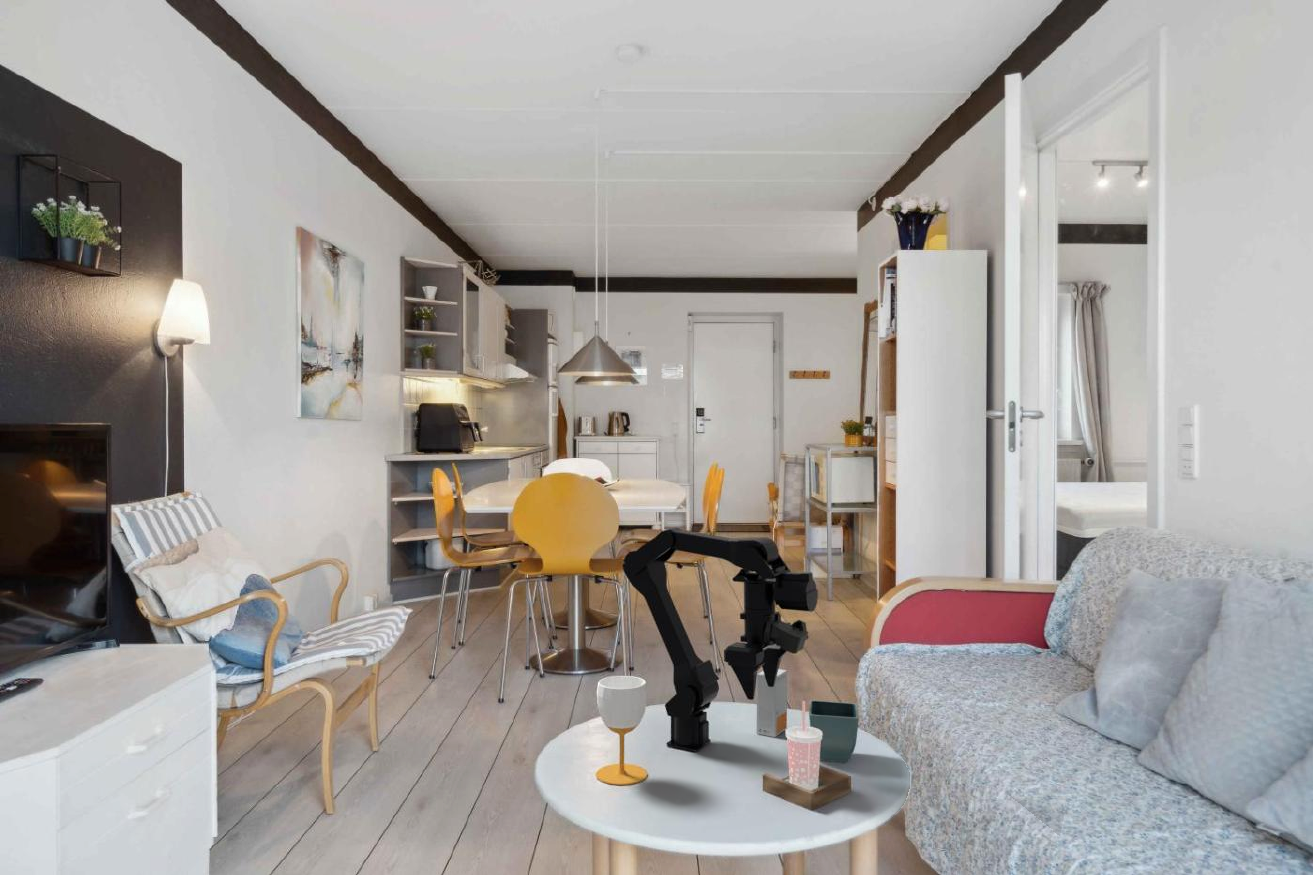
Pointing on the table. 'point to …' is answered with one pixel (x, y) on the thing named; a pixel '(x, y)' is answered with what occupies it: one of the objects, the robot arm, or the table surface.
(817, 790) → the wooden tray
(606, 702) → the cup
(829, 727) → the flower pot
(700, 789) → the table surface
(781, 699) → the skincare box
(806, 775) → the beverage cup
